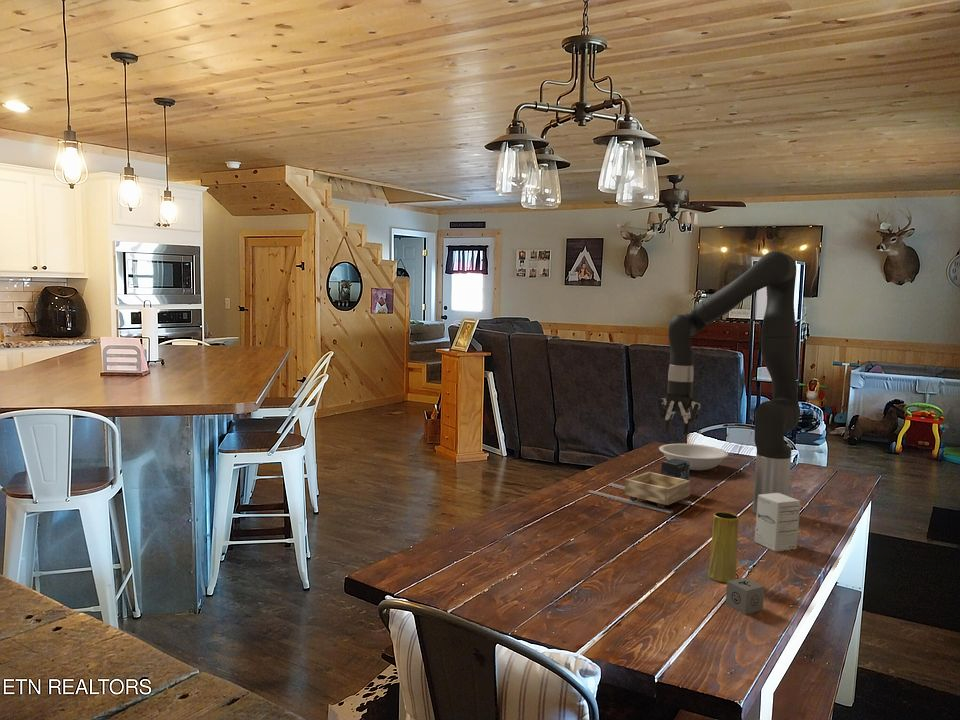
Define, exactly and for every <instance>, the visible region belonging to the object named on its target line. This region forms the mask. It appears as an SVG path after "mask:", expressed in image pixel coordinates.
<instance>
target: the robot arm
mask: <svg viewBox="0 0 960 720" xmlns="http://www.w3.org/2000/svg"><path fill="white" fill-rule="evenodd" d="M796 277H797V264H796V261H795V259H794V258H793V257H792V256H791V255H789V254H787V253H784V252H783V251H782V252H781V251H769V252H767V253H765V254H764V255H763V256H762V257H760V258H759V259H758V260H757V261H756V262H755V263H754V264H753V265H751V266H750V267H749V268H748V269H746V271H744V272H743V273H742V274H741V275H739V276H738V277H737V278H735V279H734V280H732V281H731V282H730V283H728V284H727V285H725V286H723V287H722V288H721V289H719V290H717V291H716V292H714V293H712V294H711V295H709V296H707V297H706V298H704V299H703V300H701V301H700V302H699V303H698V304H696V306H695V307H694V308H693V309H691V310H689V312H687V313H685V314H678V315H675V316H673V317H672V318H671V320H670V322H669V323H668V329H667V330H668V341H669V342H668V343H669V347H670V354H669V355H670V357H669V366H668V374H667V389H666V390H667V392H666V394H667V395H666V397H664V398H663V397H662V398H658V399H657V405H658V411H659V417H660V418H662V419H664V420H665V431H666V433H669V434H670V433H672V431H673V422H674V421H673V417H674V415H675V413H676V412H678V413H680V415H681V416H682V418H683V421H684V423H683V431H682V432H683V433H682V435H683V436H688V435H689V434H690V433H691V427H692V425H691V424H692V423H695V422H697V421H698V418H699V414H700V412H701V408H702V403H701V402H696V401H694V399H693V390H694V389H693V387H694V376H695V375H694V373H695V372H694V357H695V355H694V354H695V351H694V348H693V347H692V344H691V343H692V342H691V341H692V340H691V337H693V336H695V335H696V334H698V333H699V332H701V331H702V330H703V329H704V328H706V327H708V325H709V324H711V323H713V322H715V321H717V320H718V319H720V318H722V317H723V316H725V315H726V314H728V313H729V312H731V311H732V310H733V309H735V308H736V307H737V306H739V304H740V303H742V302H743V301H744V300H745V299H746V298H748V297H749V296H751V295H753V294H754V293H755V292H758V291H759V290H761V289H764V288H766V308H765V312H764V316H763V320H762V324H761V333H760V351H761V352H760V354H761V357H762V361H763V363H764V365H765V367H766V369H767V371H768V373H769V377H770V379H771V384H772V399H771V400H765V401H763V402H761V403H760V404H759V405H758V407H757V408H756V410H755V414H754V437H753V439H754V445H755V447H756V457H755V470H754V484H753V485H754V486H753V496H752V497H753V498H752V513H754V514H755V515H757V503H758V495H761V494H770V493H781V494H783V495H786V496H789V497H791V496H792V495H791V494H792V482H790V477H791V475H790V474H791V463H792V462H791V459H792V448H791V446H789V445H788V444H786V443H785V432H789V431H792V430H794V429H795V428H797V426H798V424H799V420H800V414H801V413H800V405H799V396H798V389H797V387H798V386H797V361H796V360H797V359H796V356H797V355H796V353H797V348H796V347H797V343H796V342H797V341H796V338H797V336H796V334H797V333H796V317H795V315H796V313H795V303H794V300H795V288H796V280H797V278H796ZM666 405H668V408H667V406H666ZM690 408H692V412H691V411H690ZM791 498H792V497H791Z"/></svg>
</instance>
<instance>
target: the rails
mask: <svg viewBox="0 0 960 720" xmlns="http://www.w3.org/2000/svg"><path fill="white" fill-rule="evenodd" d="M608 485H609V486H608V487H610V486H612V487H611V488H614V487H615V489H618V488H619V489H620V490H622V491H623V490H624V491H625V485H620V484H616V483H613V482H610V483H608ZM588 492H589V493H593V494H597V495H600V496H599V497H601V496H604V497H603V498H605V497H607V498H606V499H609V498H611V499H610V500H613V499H614V501H617V500H618V501H617V502H621V503H626V504H631V505H633V506H637V507H640V508H645V509H649V510H653V511H657V512H662V513H664V514H665V513H666V514H670V515H671V514H674V510H673V509H669V508H666V507H663V508H659V507H658V505H657V506H656V505H653V504H649V503H645V502H641V501H637V500H636V501H631V499H630V498H629V499H628V498H624V497H620V496H618V495H617V496H616V495H612V494H608V493H605V492H601V491H597V490H594V489H593V490H592V489H590V490H587V493H588ZM589 493H588V494H589ZM593 494H592V495H593ZM597 495H596V496H597ZM677 502H678V503H677ZM675 503H677V504H681V505H686V506H692V505H693V502H692V501H689V500H685V499H681V500H678V501H676V502H675Z"/></svg>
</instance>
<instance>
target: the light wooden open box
mask: <svg viewBox="0 0 960 720" xmlns="http://www.w3.org/2000/svg"><path fill="white" fill-rule="evenodd" d="M624 481H625V482H624V486H625V490H624V495H625V496H627V497H629V500H631V501H637V500H638V499H641V500H644V501H645V500H646V501H650V502H653V503H656V504H657V506H658V507H659V508H665V506H669V505H672V504H673V503H677V502H676V501H678V500H684V499H685V498H688V497H690V495H691V482H692V481H691V480H685V479H680V478H676V477H671V476H666V475H662V474H661V473H656V472H652V471H646V472H644V473H641V474H638V475H635V476H631V477H629V478H626V479H625V480H624Z"/></svg>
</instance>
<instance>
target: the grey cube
mask: <svg viewBox="0 0 960 720" xmlns="http://www.w3.org/2000/svg"><path fill="white" fill-rule="evenodd" d="M725 592H726V594H725V595H726V596H725V605H726V606H727V607H730V608H731V609H734V610H736V611H737V612H739V613H741V614H743V615H748V614H753V613H756V612H761V611H763V608H764V598H765V597H764V595H765V586H764V585H762V584H760V583H758V582H756V581H753V580H751V579H749V578H747V577H745V576H744V577H741V578H736V579H735V580H731V581H727V583H726V590H725Z"/></svg>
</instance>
